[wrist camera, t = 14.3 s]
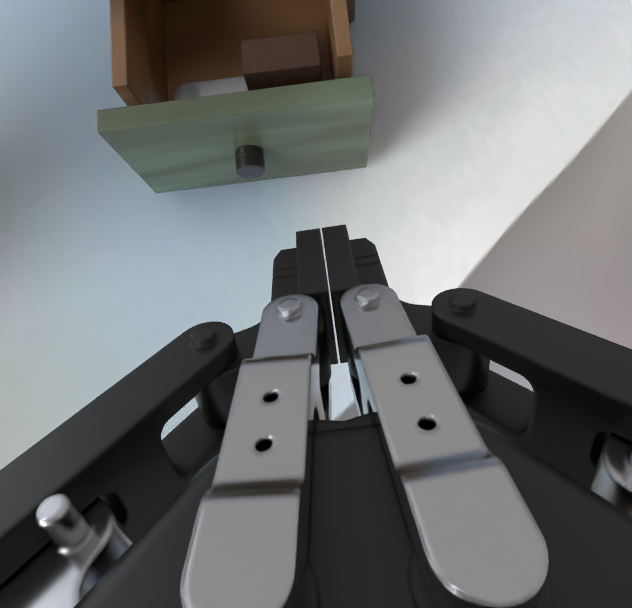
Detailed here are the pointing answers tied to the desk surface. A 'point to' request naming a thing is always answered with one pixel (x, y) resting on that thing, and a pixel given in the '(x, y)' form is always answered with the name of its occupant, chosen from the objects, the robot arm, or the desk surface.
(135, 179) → the desk surface
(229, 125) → the drawer
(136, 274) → the desk surface
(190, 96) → the knife
